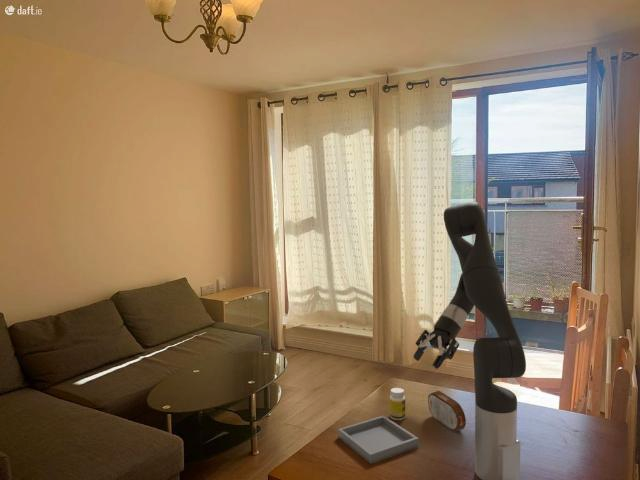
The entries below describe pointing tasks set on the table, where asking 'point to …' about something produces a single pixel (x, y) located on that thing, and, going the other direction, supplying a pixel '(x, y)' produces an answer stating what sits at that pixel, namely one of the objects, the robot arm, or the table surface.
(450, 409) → the tin
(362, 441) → the tray
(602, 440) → the table surface
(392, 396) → the supplement bottle
